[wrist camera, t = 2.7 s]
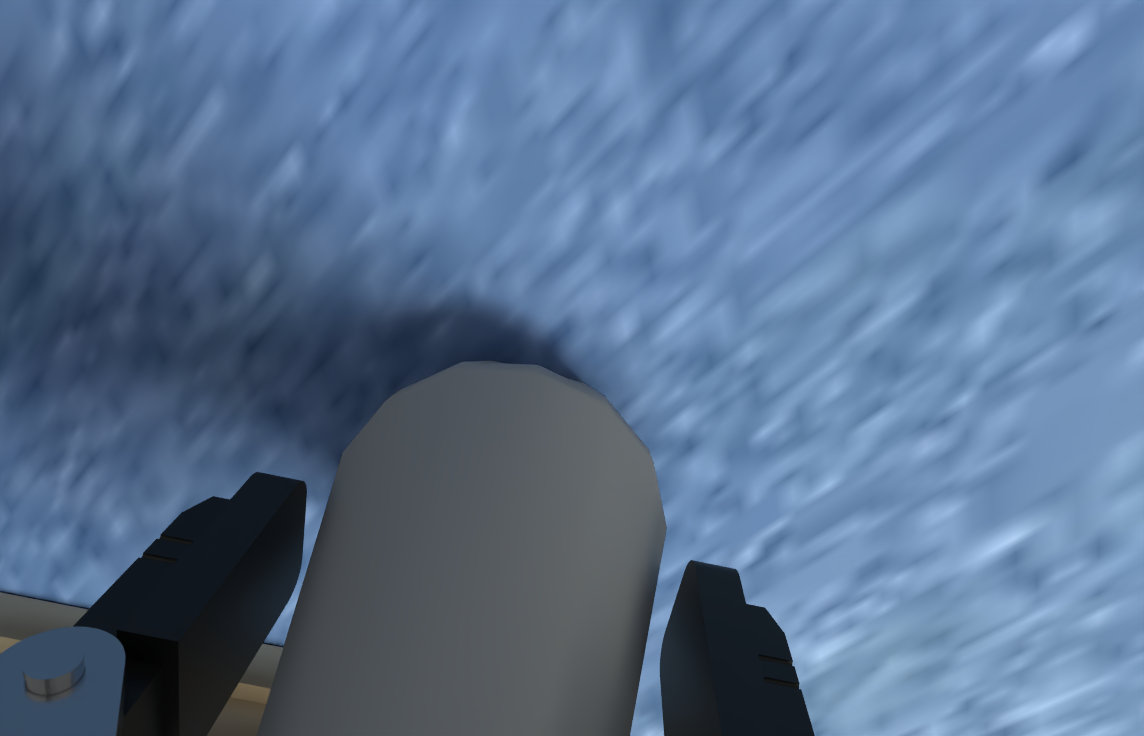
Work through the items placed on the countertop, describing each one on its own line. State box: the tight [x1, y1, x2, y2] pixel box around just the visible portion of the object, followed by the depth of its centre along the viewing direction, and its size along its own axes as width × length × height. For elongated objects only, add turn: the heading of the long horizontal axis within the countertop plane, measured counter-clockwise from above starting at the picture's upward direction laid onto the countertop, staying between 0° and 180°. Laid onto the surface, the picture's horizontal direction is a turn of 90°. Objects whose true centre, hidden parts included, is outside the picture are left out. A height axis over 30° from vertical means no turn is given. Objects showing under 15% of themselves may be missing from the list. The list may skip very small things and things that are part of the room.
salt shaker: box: [257, 361, 667, 736], centre depth 9 cm, size 6×6×13 cm
